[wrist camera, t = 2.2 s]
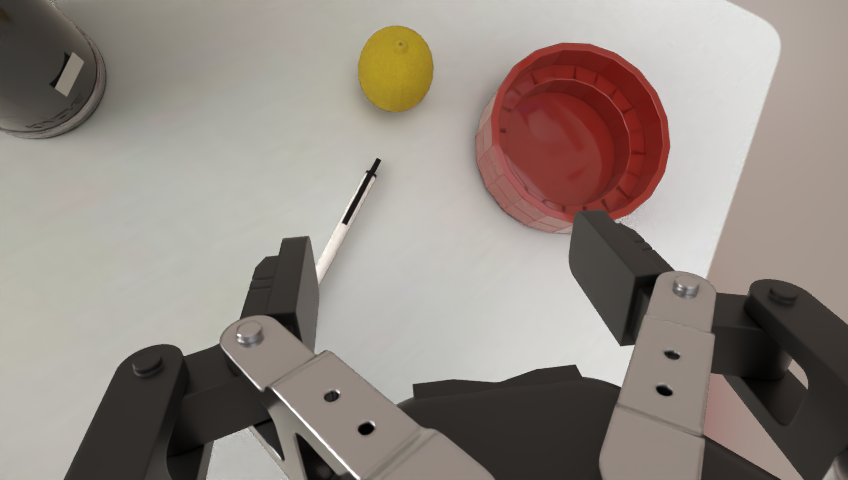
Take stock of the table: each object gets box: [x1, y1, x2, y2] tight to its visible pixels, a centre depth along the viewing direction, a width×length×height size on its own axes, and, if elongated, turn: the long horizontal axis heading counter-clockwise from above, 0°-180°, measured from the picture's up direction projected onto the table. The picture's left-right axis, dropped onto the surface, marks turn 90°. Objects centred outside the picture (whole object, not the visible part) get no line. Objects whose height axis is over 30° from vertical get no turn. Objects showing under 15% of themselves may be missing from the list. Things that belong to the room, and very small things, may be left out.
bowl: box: [476, 43, 670, 233], centre depth 39 cm, size 14×14×6 cm
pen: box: [315, 158, 381, 286], centre depth 37 cm, size 1×19×1 cm, turn 154°
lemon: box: [358, 26, 433, 112], centre depth 37 cm, size 6×6×8 cm
